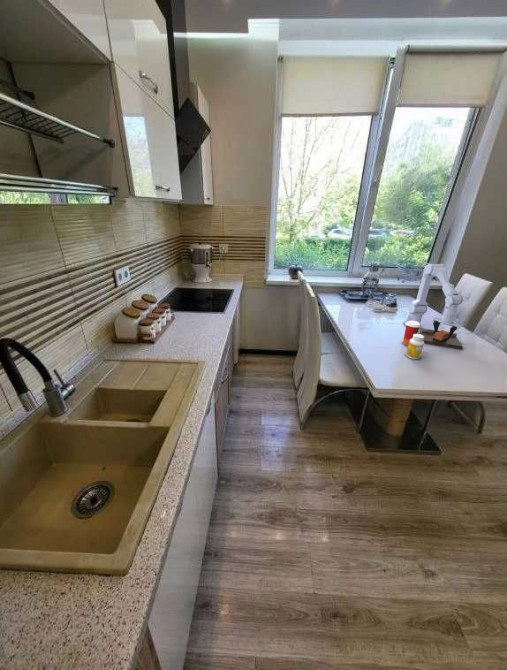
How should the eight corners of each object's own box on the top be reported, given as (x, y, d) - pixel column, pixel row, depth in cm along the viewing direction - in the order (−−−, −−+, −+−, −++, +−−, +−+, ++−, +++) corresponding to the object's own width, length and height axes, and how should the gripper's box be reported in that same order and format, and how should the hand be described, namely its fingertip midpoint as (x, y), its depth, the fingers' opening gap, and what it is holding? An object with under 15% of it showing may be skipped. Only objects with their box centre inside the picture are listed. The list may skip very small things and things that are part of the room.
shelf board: (423, 343, 168) (425, 337, 166) (419, 333, 181) (421, 327, 180) (461, 349, 161) (464, 343, 160) (454, 338, 175) (456, 333, 173)
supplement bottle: (403, 353, 156) (409, 332, 151) (415, 353, 156) (421, 333, 151) (409, 359, 150) (415, 338, 144) (422, 359, 149) (428, 338, 144)
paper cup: (413, 342, 169) (419, 321, 163) (416, 347, 162) (422, 326, 156) (399, 340, 171) (405, 319, 165) (401, 345, 164) (407, 324, 159)
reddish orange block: (440, 342, 165) (442, 335, 163) (432, 339, 168) (434, 333, 166) (449, 338, 170) (451, 331, 168) (441, 335, 174) (443, 329, 172)
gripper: (465, 316, 159) (458, 338, 165) (438, 309, 170) (432, 330, 176) (460, 319, 156) (453, 340, 161) (433, 312, 166) (427, 332, 172)
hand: (442, 335), depth 168 cm, fingers open, 7 cm apart
